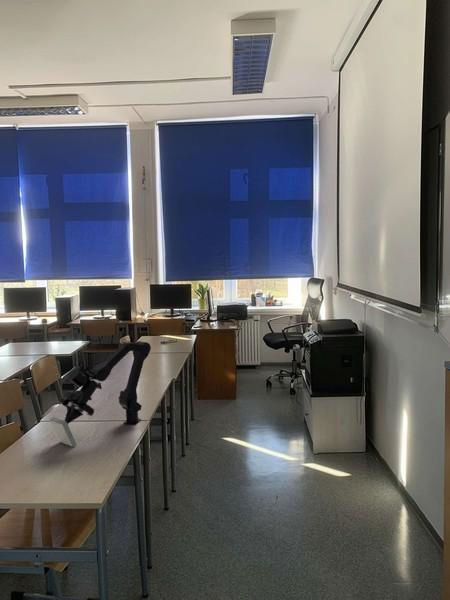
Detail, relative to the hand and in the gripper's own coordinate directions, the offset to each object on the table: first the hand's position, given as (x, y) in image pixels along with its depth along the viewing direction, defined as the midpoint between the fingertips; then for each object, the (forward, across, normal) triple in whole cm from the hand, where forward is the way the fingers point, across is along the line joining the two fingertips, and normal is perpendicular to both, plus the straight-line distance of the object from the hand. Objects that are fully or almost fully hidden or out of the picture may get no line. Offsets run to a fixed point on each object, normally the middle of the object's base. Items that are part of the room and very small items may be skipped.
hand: (64, 424), depth 191 cm
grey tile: (+5, 0, +7) cm, 9 cm away
